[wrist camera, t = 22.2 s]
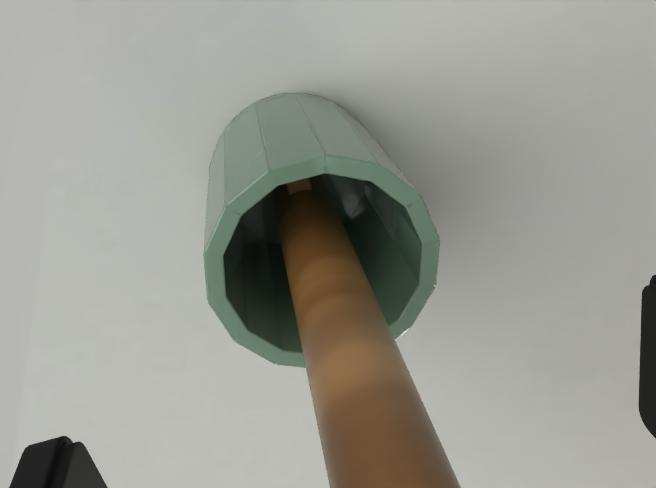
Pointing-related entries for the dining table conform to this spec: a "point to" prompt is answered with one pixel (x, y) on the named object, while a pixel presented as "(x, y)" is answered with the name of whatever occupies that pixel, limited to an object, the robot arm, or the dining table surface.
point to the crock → (349, 200)
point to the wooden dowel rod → (352, 355)
